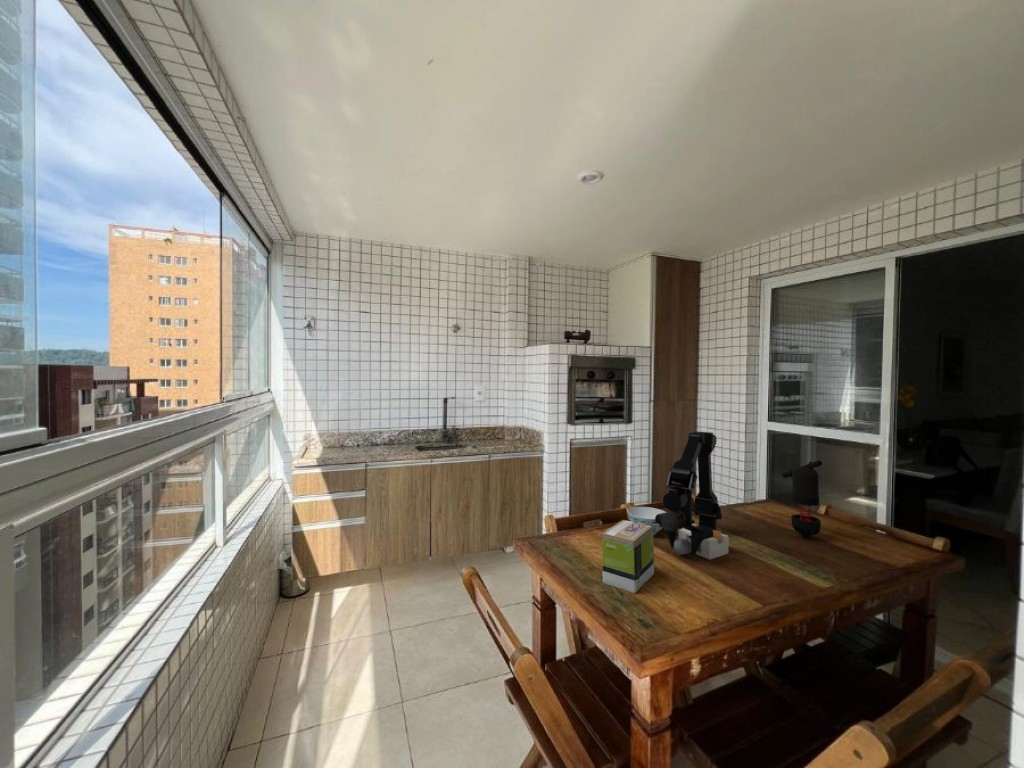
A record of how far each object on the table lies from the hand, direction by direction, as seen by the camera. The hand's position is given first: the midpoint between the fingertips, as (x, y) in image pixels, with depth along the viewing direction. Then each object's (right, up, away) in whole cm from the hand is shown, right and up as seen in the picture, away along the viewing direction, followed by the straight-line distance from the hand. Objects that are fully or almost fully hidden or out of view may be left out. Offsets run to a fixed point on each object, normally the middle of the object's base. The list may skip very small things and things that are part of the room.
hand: (682, 551), depth 132 cm
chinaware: (-4, -2, +22) cm, 22 cm away
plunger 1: (+8, +3, +9) cm, 13 cm away
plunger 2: (+12, +3, +2) cm, 13 cm away
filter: (+53, -2, +17) cm, 55 cm away
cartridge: (+6, -1, +3) cm, 6 cm away
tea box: (-23, -2, -16) cm, 28 cm away
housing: (+9, -2, +5) cm, 11 cm away
